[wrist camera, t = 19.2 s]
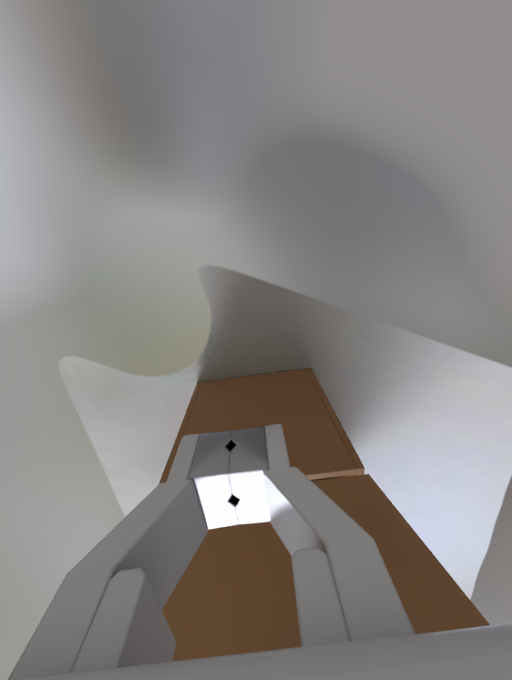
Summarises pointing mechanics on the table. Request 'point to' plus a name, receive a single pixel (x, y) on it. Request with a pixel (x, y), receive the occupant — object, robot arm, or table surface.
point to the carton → (275, 419)
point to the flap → (278, 583)
